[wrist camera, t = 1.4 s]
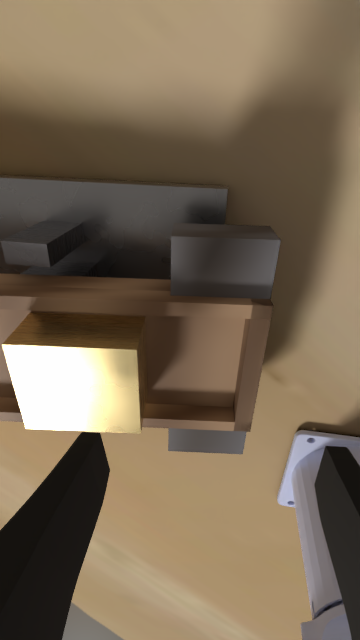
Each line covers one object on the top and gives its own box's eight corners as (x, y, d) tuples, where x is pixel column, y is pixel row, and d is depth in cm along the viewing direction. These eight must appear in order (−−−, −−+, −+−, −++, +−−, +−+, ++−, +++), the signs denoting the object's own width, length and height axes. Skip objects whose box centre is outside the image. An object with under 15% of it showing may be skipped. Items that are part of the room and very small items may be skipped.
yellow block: (145, 316, 14) (136, 349, 12) (147, 393, 17) (140, 433, 14) (30, 312, 15) (1, 344, 12) (47, 389, 17) (25, 428, 15)
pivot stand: (228, 186, 16) (225, 204, 12) (208, 406, 23) (201, 465, 19) (-79, 170, 18) (-172, 182, 14) (-11, 378, 24) (-58, 427, 21)
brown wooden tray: (269, 226, 14) (284, 245, 12) (238, 425, 20) (244, 463, 18) (-202, 210, 14) (-276, 225, 12) (-96, 411, 20) (-133, 447, 18)
